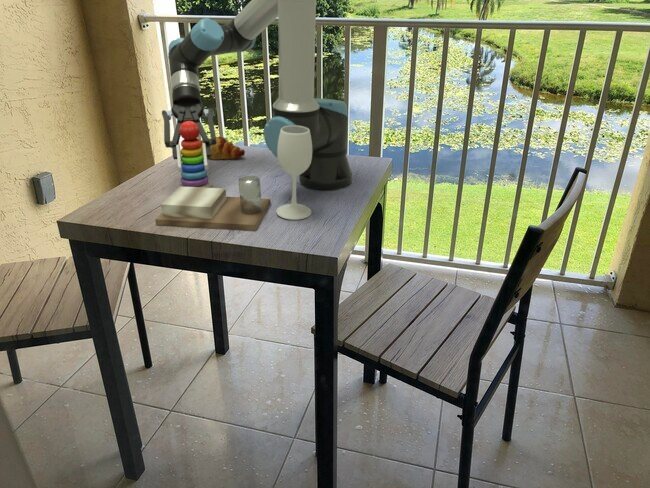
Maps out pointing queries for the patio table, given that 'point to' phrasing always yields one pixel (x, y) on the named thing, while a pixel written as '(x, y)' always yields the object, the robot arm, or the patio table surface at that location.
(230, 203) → the board
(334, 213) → the patio table surface
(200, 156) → the stacking toy
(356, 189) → the patio table surface
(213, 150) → the croissant
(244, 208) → the grey brown short cylinder
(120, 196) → the patio table surface
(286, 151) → the wineglass
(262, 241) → the patio table surface
